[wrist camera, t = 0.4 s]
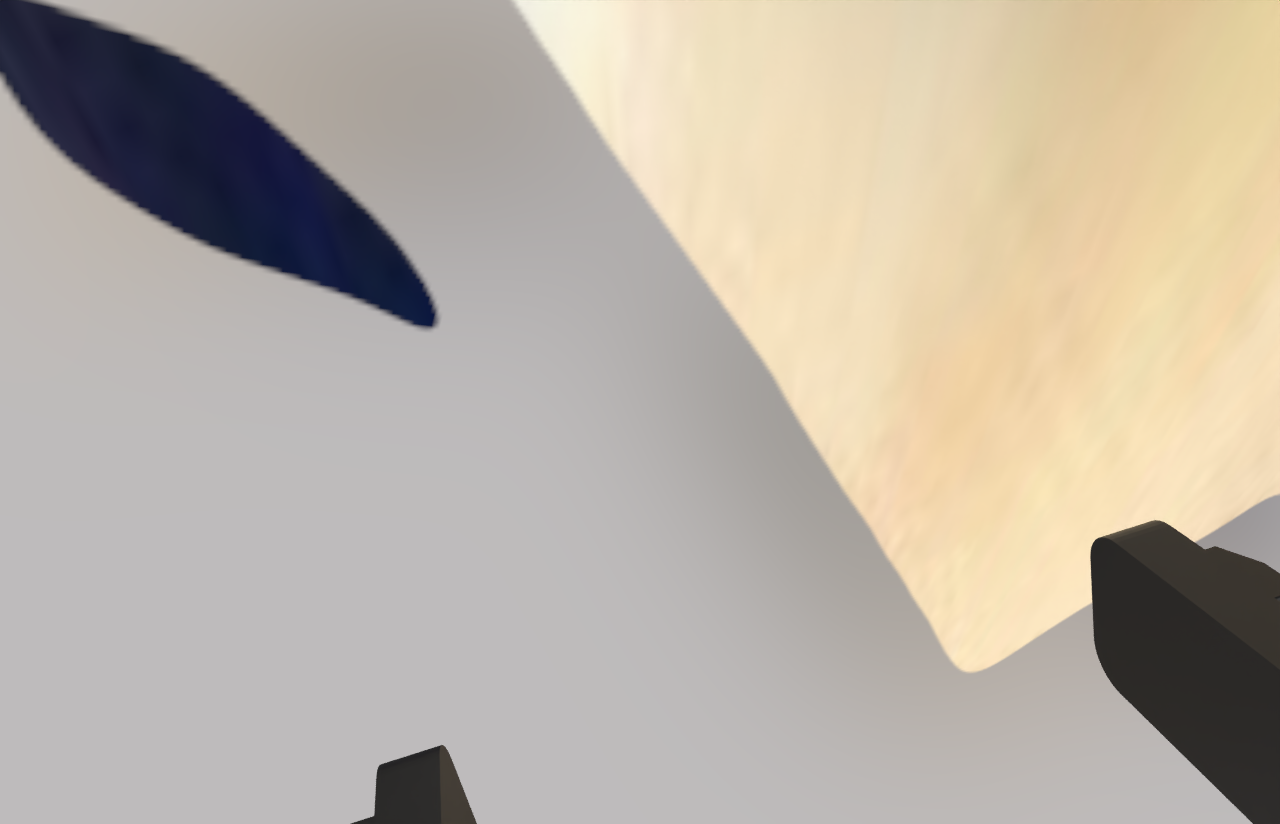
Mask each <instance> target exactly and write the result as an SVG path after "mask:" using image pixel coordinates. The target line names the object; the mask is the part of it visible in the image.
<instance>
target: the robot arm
mask: <svg viewBox="0 0 1280 824" xmlns="http://www.w3.org/2000/svg"><path fill="white" fill-rule="evenodd" d="M1091 580H1092V603H1093V625H1094V641H1095V647H1096V652H1097V655H1098V658H1099V661H1100V663H1101V665H1102V667H1103V670H1104V671H1105V673H1106V675H1107V677H1108V678H1109V680H1110V681H1111V683H1112V684H1113V686H1114V687H1115V688H1116V689H1117V690H1118V691H1119V693H1120V694H1121V695H1122V696H1123V697H1124V698H1125V699H1126V700H1128V702H1130V703H1131V704H1132V705H1133V706H1134V707H1135V708H1136V709H1137V710H1138V711H1139V712H1140V713H1141V714H1142V715H1143V716H1144V717H1145V718H1146V719H1147V720H1148V721H1149V722H1150V723H1151V724H1152V725H1153V726H1154V727H1155V728H1156V729H1157V730H1158V731H1159V732H1160V733H1161V734H1162V735H1163V736H1164V737H1165V738H1166V739H1167V740H1168V741H1169V742H1170V743H1171V744H1172V745H1173V746H1174V747H1175V748H1176V749H1177V750H1178V751H1179V752H1180V753H1182V754H1183V755H1184V756H1185V757H1186V758H1187V759H1188V760H1189V761H1190V762H1191V763H1192V764H1193V765H1194V766H1195V767H1196V768H1197V769H1198V770H1199V771H1200V772H1201V773H1202V774H1203V775H1204V776H1205V777H1206V778H1207V779H1208V780H1209V781H1210V782H1211V783H1212V784H1213V785H1214V786H1215V787H1216V788H1217V789H1218V790H1219V791H1220V792H1221V793H1222V794H1223V795H1224V796H1225V797H1226V798H1227V799H1228V800H1230V802H1231V803H1232V804H1234V805H1235V806H1236V807H1237V808H1238V809H1239V810H1240V811H1241V812H1242V813H1243V814H1244V815H1245V816H1246V817H1247V818H1248V819H1249V820H1250V821H1251V822H1252V823H1253V824H1280V573H1278V572H1277V571H1275V570H1274V569H1272V568H1271V567H1269V566H1268V565H1266V564H1265V563H1262V562H1259V561H1256V560H1254V559H1251V558H1248V557H1245V556H1242V555H1239V554H1236V553H1233V552H1230V551H1227V550H1224V549H1222V548H1219V547H1212V548H1209V549H1206V550H1205V549H1203V548H1202V547H1200V546H1199V545H1197V544H1196V543H1194V542H1193V541H1192V540H1190V539H1189V538H1187V537H1186V536H1184V535H1183V534H1181V533H1180V532H1179V531H1177V530H1176V529H1174V528H1173V527H1171V526H1170V525H1168V524H1166V523H1165V522H1162V521H1157V520H1155V521H1150V522H1147V523H1144V524H1141V525H1138V526H1135V527H1131V528H1128V529H1125V530H1122V531H1119V532H1116V533H1113V534H1109V535H1106V536H1103V537H1100V538H1098V539H1096V540H1095V541H1094V542H1093V545H1092V547H1091ZM352 824H477V823H476V821H475V818H474V815H473V813H472V810H471V808H470V805H469V803H468V800H467V797H466V795H465V792H464V790H463V787H462V785H461V782H460V780H459V777H458V774H457V772H456V769H455V767H454V764H453V762H452V759H451V757H450V754H449V752H448V750H447V749H446V747H445V746H443V745H441V746H437V747H434V748H431V749H428V750H425V751H422V752H419V753H415V754H412V755H410V756H406V757H403V758H400V759H397V760H393V761H390V762H387V763H384V764H381V765H380V766H379V767H378V770H377V779H376V796H375V815H374V816H373V817H370V818H367V819H364V820H361V821H358V822H354V823H352Z"/></svg>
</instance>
